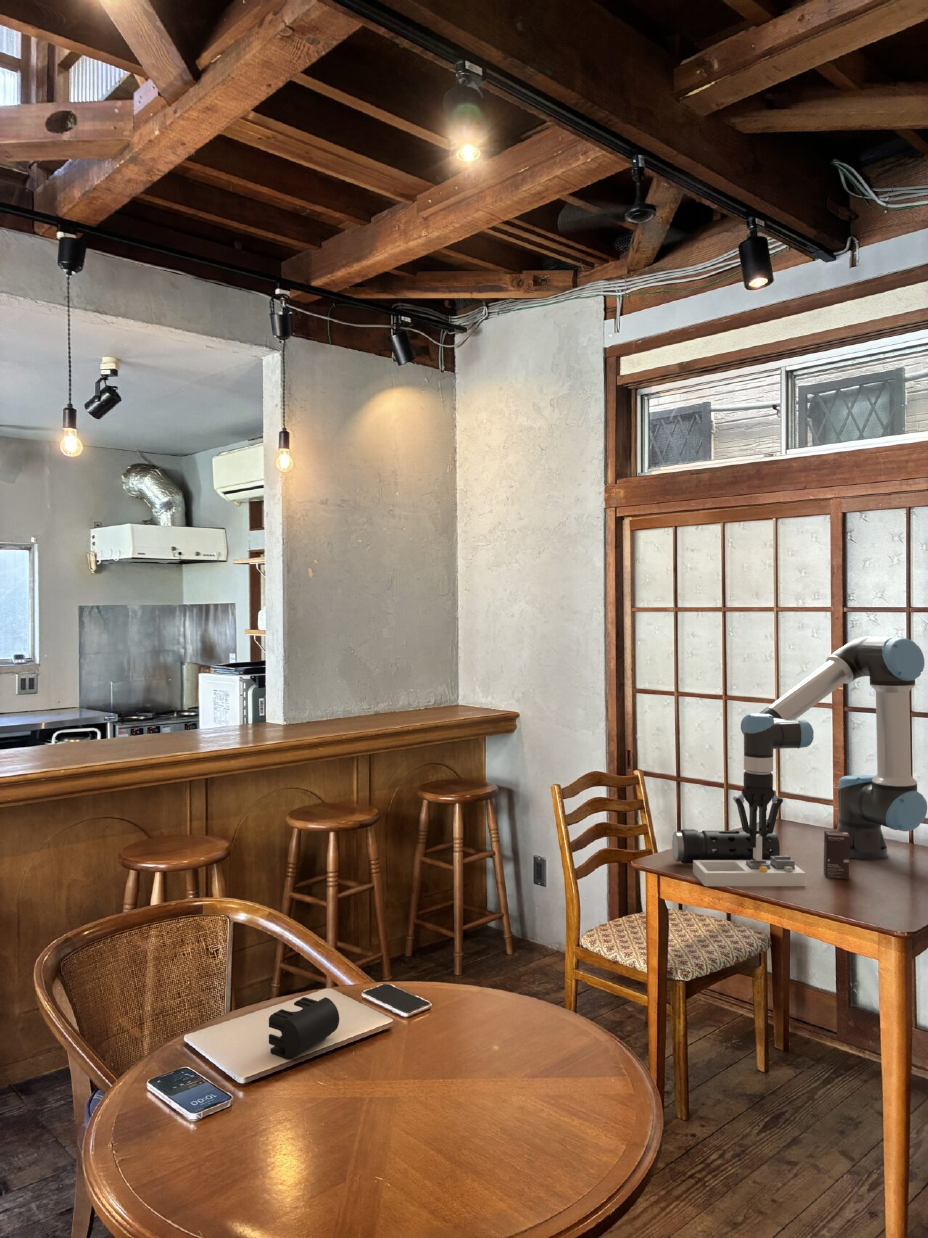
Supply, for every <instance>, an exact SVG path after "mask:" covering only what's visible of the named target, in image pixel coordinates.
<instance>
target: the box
mask: <svg viewBox="0 0 928 1238" xmlns="http://www.w3.org/2000/svg"><path fill="white" fill-rule="evenodd" d="M823 836H824V839H823V843H824V844H823V875H824V877H825V878H826V879H839V880H840V879H841V880H849V879H850V857H849V850H850V836H849V834H848V833H847V832H837V831H835V830H834V831H833V830H824V831H823Z"/></svg>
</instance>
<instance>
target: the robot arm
mask: <svg viewBox="0 0 928 1238" xmlns="http://www.w3.org/2000/svg"><path fill="white" fill-rule="evenodd" d="M923 653H924V652H923V651H922V649H921V648H920V646H919V645H918V644H917V643H916V642H914V641H913V640H911V639H910V638H904V637H903V638H902V637H899V636H897V637H896V636H872V635H871V636H863V637H859V638H857V639H853V640H852V641H850V642H848V643H846V644H844V646H842V647H840V648H838V649H837V650H835V651H834V652H832V654H831V655H828V657H827V658H826V660H825V663H824V664H823V665H821V666H820V667H819V668H817V669H816V670H815V671H813V672H812V673H811V674H810V675H808V676H807V677H805V678H804V679H803V680H802V681H800V682H799V683H798V684H796V685H795V686H793V687H792V688H791V689H789V690H788V691H787V692H785V693H784V694H783V695H782V696H780V697H779V698H777V699H776V700H775V701H773V702H772V703H771V704H769V705H768V706H767V707H765V708H763V709H762V711H759V713H755V712H753V713H748V714H745V716H743V718H742V719H741V722H740V731H741V733H742V735H743V770H744V772H743V787H742V790H741V794H739V795H737V796H734V797H733V798H732V799H733V800H732V801H734V803H735V804H736V806H737V811H738V815H739V820H740V824H741V827H742V831H744V832H745V833H747V834H750V846H751V847H752V848H753V858H754V859H755V860H756V861H762V848H765V846H766V836H767V834H772V833H773V831H775V830H774V829H775V826H776V822H777V818H778V815H779V814H778V813H779V809H780V807H781V805H782V804H783V802H784V799H783V798H781V797H780V796H777V795H776V794H775V791H774V789H773V788H774V774H773V773H772V772H773V771H774V750H778V749H782V750H783V749H802V748H807V747H809V746H811V744H812V743H813V742H814V737H815V736H814V733H815V732H814V728H813V726H812V725H811V723H810V722H808V720H803V719H798V718H799V717H801V716H802V715H804V714H806V712H808V711H809V710H810V709H811V708H813V707H814V706H816V705H817V704H818V703H820V702H821V701H822V700H823V699H825V698H826V697H827V696H829V695H830V694H832V693H833V692H835V690H837V689H838V688H840V687H841V686H842V685H844V684H847V685H848V684H851V683H852V682H853V681H856V679H859V678H862V677H869V686H870V687H871V688H873V690H874V691H875V719H876V720H875V722H876V723H875V724H876V725H875V726H876V762H877V763H876V765H877V767H876V771H877V773H876V775H869V774H868V775H867V774H865V775H863V774H861V775H860V774H859V775H845V776H842V777H840V778H839V780H838V788H837V796H838V797H837V803H838V805H837V807H838V809H837V810H838V812H837V813H838V814H837V815H838V822H837V823H838V824H837V827H836V831H837V832H847V833H848V834H849V836H850V850H849V859H850V858H851V859H858V860H881V859H885V858H887V857H888V846H887V843H886V840H885V838H884V837H885V836H884V834H883V832H882V831H883V830H882V827H886V828H889V829H891V830H894V831H900V832H911V831H914V830H915V829H917V828H919V827H920V825H921V824H922V823H924V821H925V819H926V817H927V813H928V802H927V800H926V798H925V797H924V795H923V794H922V793H921V792H919V791H918V782H917V780H915V778H914V777H912V767H911V765H912V764H911V761H912V760H911V757H912V755H911V718H910V717H911V713H910V711H911V710H910V709H911V708H910V704H911V703H910V691H911V690H912V689H913V688H915V686H916V679H918V678H919V677H920V676H921V675H922V672H923V671H924V669H925V657H924V654H923ZM745 801H746V802H747V804H748V808H749V811H748V812H749V814H748V815H749V820H748V816H747V812H746V809H745V805H744V803H745ZM770 802H772V803H771V806H770V810H769V813H768V817H767V811H768V805H769V804H770ZM757 813H758V814H757ZM757 823H758V824H757ZM757 826H758V829H757ZM757 831H759V834H757Z"/></svg>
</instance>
